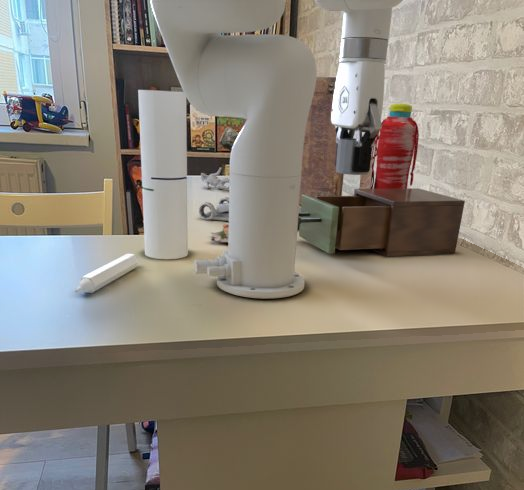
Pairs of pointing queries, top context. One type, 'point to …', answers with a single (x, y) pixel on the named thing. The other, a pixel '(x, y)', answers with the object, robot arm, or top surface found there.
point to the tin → (346, 156)
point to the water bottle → (393, 151)
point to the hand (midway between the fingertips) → (351, 168)
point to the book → (320, 145)
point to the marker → (107, 273)
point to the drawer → (344, 222)
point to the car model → (218, 210)
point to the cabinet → (418, 221)
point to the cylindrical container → (164, 172)
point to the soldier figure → (215, 180)
